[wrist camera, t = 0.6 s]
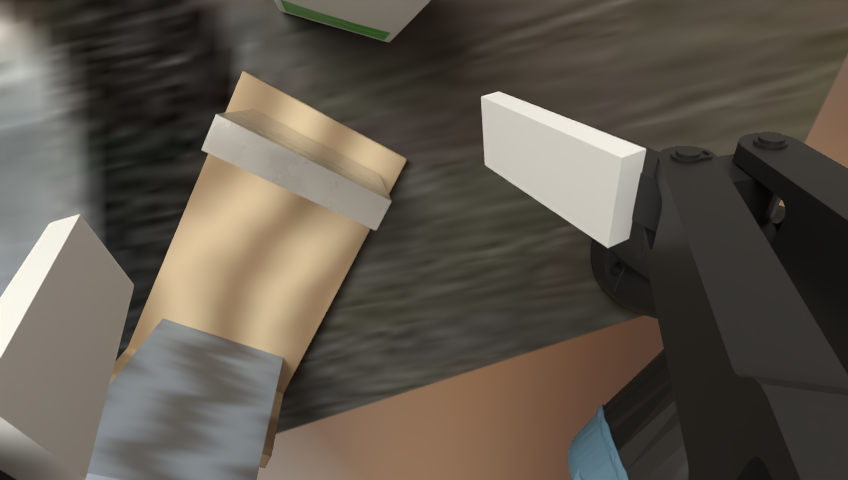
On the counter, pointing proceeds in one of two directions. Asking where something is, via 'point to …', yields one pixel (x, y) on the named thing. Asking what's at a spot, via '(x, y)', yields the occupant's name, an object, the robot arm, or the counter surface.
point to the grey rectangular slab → (298, 165)
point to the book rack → (231, 312)
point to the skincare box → (358, 14)
